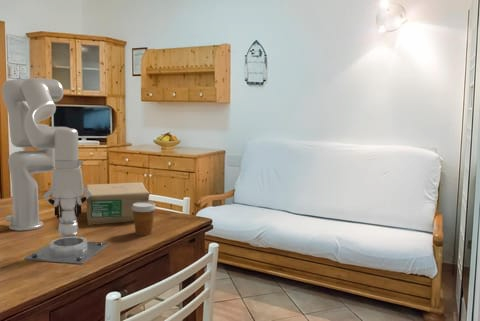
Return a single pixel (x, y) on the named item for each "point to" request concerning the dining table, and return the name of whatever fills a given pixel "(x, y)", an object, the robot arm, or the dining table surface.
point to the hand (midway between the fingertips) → (68, 216)
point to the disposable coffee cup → (143, 217)
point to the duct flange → (67, 250)
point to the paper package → (114, 202)
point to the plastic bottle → (68, 214)
